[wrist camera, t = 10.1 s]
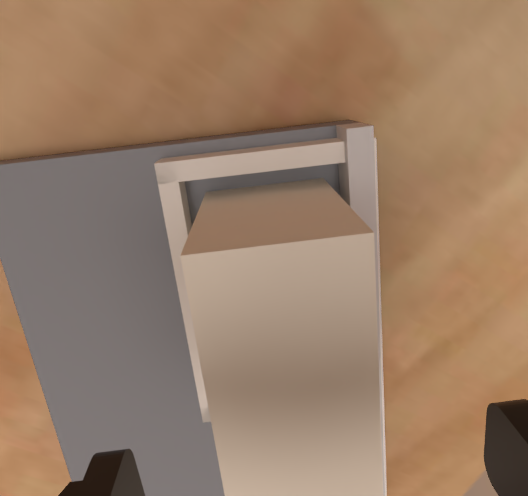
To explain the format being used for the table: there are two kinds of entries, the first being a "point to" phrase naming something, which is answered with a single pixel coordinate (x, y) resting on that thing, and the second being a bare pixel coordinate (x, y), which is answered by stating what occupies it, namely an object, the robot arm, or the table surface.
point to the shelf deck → (147, 283)
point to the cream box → (287, 339)
